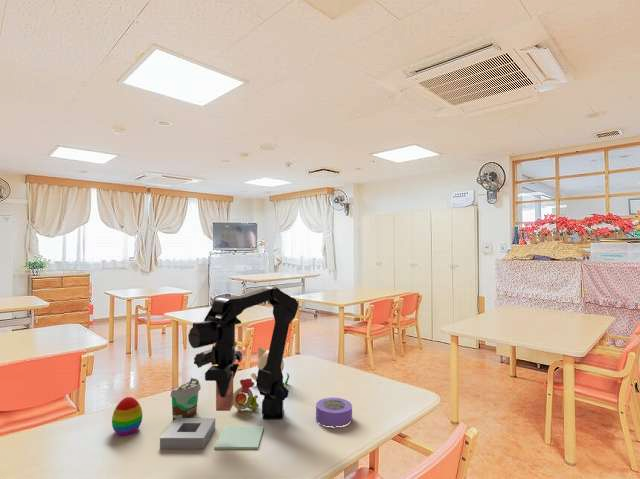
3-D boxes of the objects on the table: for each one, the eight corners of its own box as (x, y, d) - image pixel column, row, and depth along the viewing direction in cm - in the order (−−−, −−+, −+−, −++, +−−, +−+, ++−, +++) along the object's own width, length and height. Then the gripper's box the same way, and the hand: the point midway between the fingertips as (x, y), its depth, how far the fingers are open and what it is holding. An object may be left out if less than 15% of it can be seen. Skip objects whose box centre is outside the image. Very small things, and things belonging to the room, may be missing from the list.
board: (263, 428, 113) (263, 426, 113) (257, 449, 101) (257, 447, 101) (224, 427, 113) (224, 425, 113) (214, 449, 101) (214, 446, 101)
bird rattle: (241, 421, 122) (265, 405, 126) (228, 392, 121) (253, 377, 125) (236, 413, 128) (259, 398, 132) (224, 386, 126) (248, 372, 130)
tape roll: (356, 416, 123) (357, 401, 123) (344, 431, 112) (344, 415, 112) (324, 409, 127) (324, 394, 128) (309, 423, 117) (309, 407, 117)
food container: (187, 424, 115) (188, 392, 116) (169, 422, 117) (170, 390, 117) (207, 407, 127) (207, 378, 128) (191, 406, 129) (191, 377, 129)
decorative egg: (113, 427, 113) (114, 394, 113) (142, 422, 116) (143, 390, 116) (109, 440, 105) (110, 405, 106) (141, 434, 109) (142, 400, 109)
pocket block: (215, 427, 113) (215, 418, 113) (203, 449, 101) (203, 438, 101) (176, 427, 113) (176, 417, 113) (159, 448, 101) (159, 437, 101)
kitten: (292, 380, 155) (292, 344, 155) (284, 389, 145) (285, 351, 145) (259, 377, 158) (259, 342, 158) (249, 385, 148) (250, 348, 149)
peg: (233, 404, 110) (233, 371, 110) (229, 410, 106) (229, 376, 106) (219, 404, 110) (220, 371, 110) (216, 410, 106) (216, 376, 106)
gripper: (207, 333, 117) (207, 382, 117) (185, 349, 99) (185, 408, 99) (242, 333, 117) (242, 382, 117) (227, 350, 99) (227, 408, 98)
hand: (224, 393), depth 108 cm, fingers closed on peg, 4 cm apart
